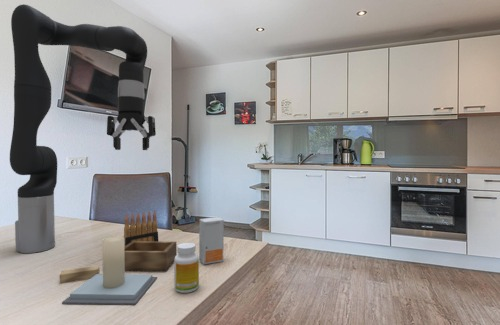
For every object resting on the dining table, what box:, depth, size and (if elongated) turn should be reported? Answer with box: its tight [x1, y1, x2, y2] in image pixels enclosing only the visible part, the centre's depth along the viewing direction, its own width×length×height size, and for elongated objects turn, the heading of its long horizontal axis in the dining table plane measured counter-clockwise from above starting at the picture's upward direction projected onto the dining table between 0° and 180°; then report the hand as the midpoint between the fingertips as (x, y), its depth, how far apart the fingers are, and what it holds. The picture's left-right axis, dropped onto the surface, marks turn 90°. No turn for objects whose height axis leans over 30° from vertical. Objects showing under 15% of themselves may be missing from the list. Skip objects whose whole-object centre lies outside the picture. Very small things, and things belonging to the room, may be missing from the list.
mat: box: [61, 276, 158, 306], centre depth 61 cm, size 15×12×1 cm
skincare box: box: [198, 216, 225, 265], centre depth 78 cm, size 6×4×12 cm
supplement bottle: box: [173, 242, 200, 294], centre depth 62 cm, size 5×5×10 cm
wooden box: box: [124, 240, 178, 273], centre depth 76 cm, size 13×9×5 cm
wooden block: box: [58, 265, 100, 285], centre depth 67 cm, size 8×2×2 cm, turn 114°
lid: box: [69, 235, 153, 300], centre depth 61 cm, size 14×10×11 cm
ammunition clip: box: [123, 210, 159, 247], centre depth 88 cm, size 11×2×12 cm, turn 132°
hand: (131, 149), depth 85 cm, fingers open, 8 cm apart
